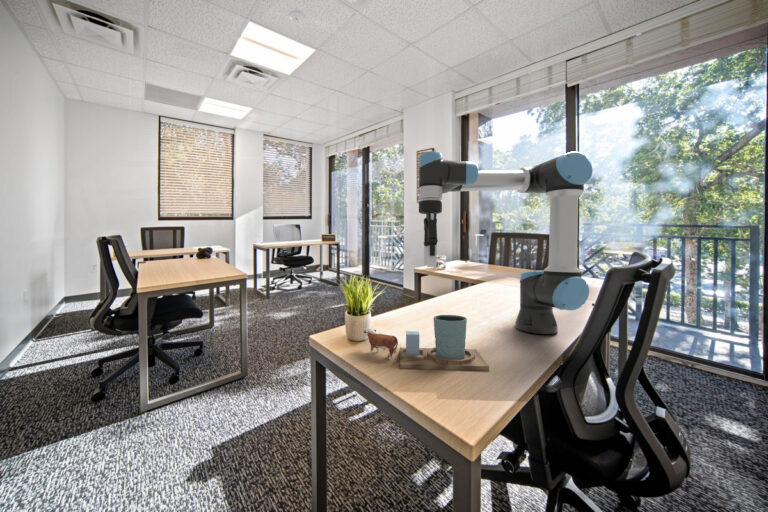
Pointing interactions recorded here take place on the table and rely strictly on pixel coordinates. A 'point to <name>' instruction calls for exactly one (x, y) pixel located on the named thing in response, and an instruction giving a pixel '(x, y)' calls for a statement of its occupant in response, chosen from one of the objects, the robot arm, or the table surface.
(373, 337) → the bull figurine
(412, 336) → the block
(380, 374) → the table surface
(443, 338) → the teal cup
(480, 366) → the jig
